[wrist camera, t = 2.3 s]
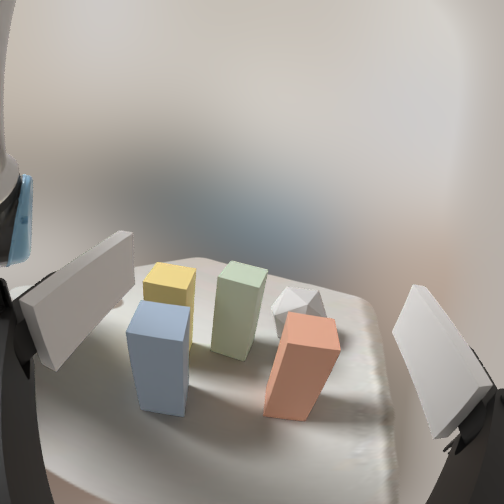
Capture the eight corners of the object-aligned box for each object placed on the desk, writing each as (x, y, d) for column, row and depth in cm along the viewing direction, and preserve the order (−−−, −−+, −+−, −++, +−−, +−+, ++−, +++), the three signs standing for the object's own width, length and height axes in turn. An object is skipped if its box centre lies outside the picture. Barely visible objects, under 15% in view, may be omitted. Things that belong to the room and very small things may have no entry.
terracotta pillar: (263, 415, 29) (287, 342, 24) (266, 385, 33) (288, 311, 28) (304, 421, 28) (340, 350, 24) (304, 390, 33) (334, 318, 28)
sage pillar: (210, 350, 38) (217, 276, 33) (222, 330, 42) (231, 260, 37) (244, 361, 37) (259, 287, 32) (253, 340, 41) (268, 269, 36)
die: (315, 323, 48) (295, 274, 48) (344, 331, 40) (323, 274, 40) (276, 347, 46) (254, 296, 45) (300, 360, 37) (275, 300, 37)
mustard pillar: (148, 358, 34) (142, 281, 29) (159, 335, 38) (157, 261, 34) (184, 366, 34) (186, 289, 29) (192, 342, 38) (196, 268, 34)
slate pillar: (140, 409, 26) (125, 332, 21) (149, 378, 31) (140, 299, 26) (184, 416, 27) (182, 341, 22) (188, 384, 31) (190, 306, 26)
